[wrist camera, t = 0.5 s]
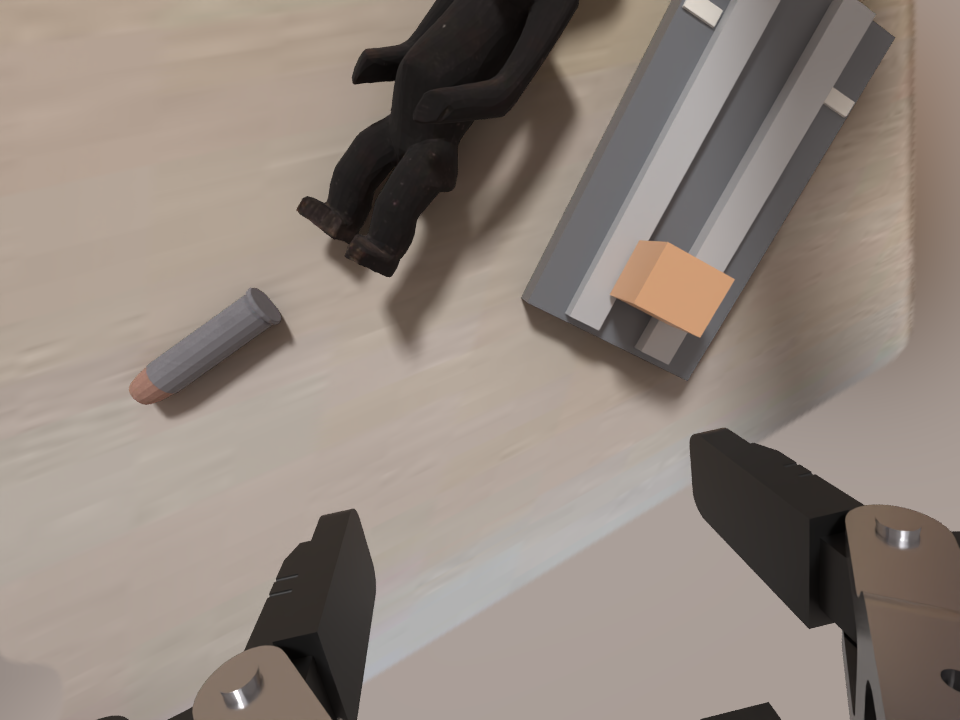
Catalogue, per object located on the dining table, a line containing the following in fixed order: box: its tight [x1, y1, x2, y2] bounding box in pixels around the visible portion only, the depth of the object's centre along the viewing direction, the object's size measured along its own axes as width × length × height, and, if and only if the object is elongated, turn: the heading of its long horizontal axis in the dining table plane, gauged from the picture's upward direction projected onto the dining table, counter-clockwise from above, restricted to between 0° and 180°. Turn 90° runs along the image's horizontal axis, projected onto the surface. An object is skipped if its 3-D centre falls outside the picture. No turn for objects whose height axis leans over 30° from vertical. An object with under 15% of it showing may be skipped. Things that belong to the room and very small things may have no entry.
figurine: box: [297, 0, 579, 277], centre depth 28 cm, size 8×30×8 cm, turn 143°
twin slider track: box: [521, 0, 895, 381], centre depth 33 cm, size 26×14×4 cm, turn 154°
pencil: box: [129, 288, 281, 405], centre depth 34 cm, size 11×3×3 cm, turn 124°
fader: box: [610, 240, 735, 338], centre depth 31 cm, size 4×5×5 cm
